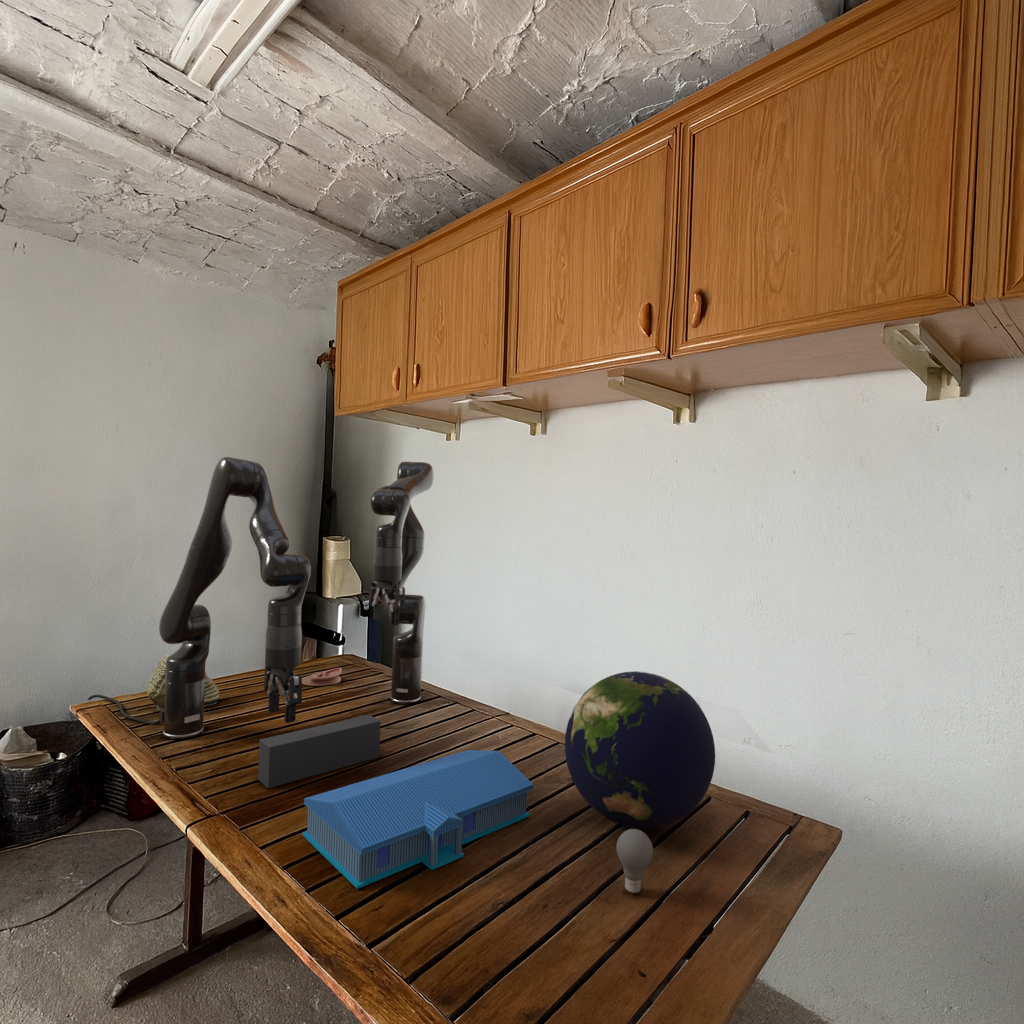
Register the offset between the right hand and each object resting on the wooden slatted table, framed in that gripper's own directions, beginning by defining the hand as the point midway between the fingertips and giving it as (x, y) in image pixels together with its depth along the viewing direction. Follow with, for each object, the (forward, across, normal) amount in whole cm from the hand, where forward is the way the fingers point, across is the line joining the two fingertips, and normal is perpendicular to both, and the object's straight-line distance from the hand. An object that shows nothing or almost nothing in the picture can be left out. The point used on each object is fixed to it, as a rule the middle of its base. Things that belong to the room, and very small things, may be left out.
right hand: (385, 622), depth 172 cm
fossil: (+30, +50, +36) cm, 68 cm away
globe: (+29, -74, -14) cm, 80 cm away
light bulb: (+29, -87, +6) cm, 92 cm away
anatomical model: (+30, +50, -7) cm, 59 cm away
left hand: (+15, -12, +34) cm, 39 cm away
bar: (+30, -12, +24) cm, 40 cm away
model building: (+29, -50, +21) cm, 61 cm away
